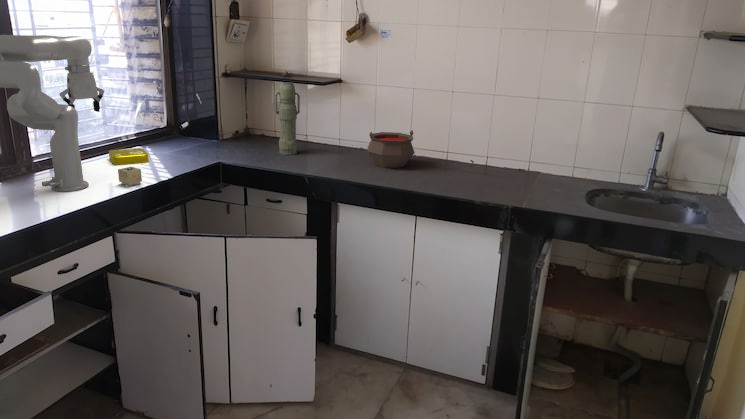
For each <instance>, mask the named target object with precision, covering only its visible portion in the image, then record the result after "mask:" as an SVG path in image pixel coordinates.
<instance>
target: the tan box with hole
mask: <svg viewBox="0 0 745 419" xmlns="http://www.w3.org/2000/svg"><path fill="white" fill-rule="evenodd" d="M127 168H132V170H129V171H128V170H127ZM117 174H118V182H119V183H121V182H122V183H125V184H132V183H137V182H140V183H141V182H142V181H143V177H142V169H141V168H138V167H135V166H128V167H124V168H123V167H122V168H118V169H117Z"/></svg>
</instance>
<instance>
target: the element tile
mask: <svg viewBox="0 0 745 419" xmlns="http://www.w3.org/2000/svg"><path fill="white" fill-rule="evenodd" d="M108 155H109V161H110V162H111V163H112V165H113V166H128V165H137V164H139V163H140V164H148V163H149V160H150V159H149V153H148V152H147V151H146V150H145V149H144V148H142V147H135V148H122V149H121V148H120V149H110V150H109V151H108Z"/></svg>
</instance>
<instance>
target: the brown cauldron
mask: <svg viewBox="0 0 745 419" xmlns="http://www.w3.org/2000/svg"><path fill="white" fill-rule="evenodd" d="M413 135H414V131H413V130H412V129H411V130H410V131H409V134H408V133H407V134H406V133H403V132H392V131H391V132H388V131H387V132H385V131H380V132H375V133H373V132H372V131H370V132H369V134H368V136H369V138H370V141H369V143H368V146H367V153H368V154H369V156H370V158H371V159H372V161H373V163H375V165H376V166H378V167H381V168H385V169H387V168H389V169H390V168H391V169H399V168H402V167H405V166H406V165H407V163H408V162H409V161H410V159H411V158H412V157H413V156H414V155H415V154H416V153H415V149H414V147H413V143H412V141H413V140H414V136H413Z"/></svg>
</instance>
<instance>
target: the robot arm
mask: <svg viewBox="0 0 745 419" xmlns="http://www.w3.org/2000/svg"><path fill="white" fill-rule="evenodd" d="M92 47H93V46H92V44H91V42H90V41H89V40H88V39H87V38H86V37H84V36H80V35H79V36H77V35H74V36H73V35H72V36H71V35H69V36H59V35H58V36H57V35H46V34H45V35H42V34H41V35H39V34H38V35H25V34H23V35H22V34H21V35H19V34H18V35H17V34H0V89H2V88H5V89H19V91H18V92H17V93H15V94H11V96H10V97H8V99H7V102H6V110H7V112H8V114H9V117H10V118H11V119H12V120H13V121H15V122H17V123H19V124H20V125H23V126H25V127H27V128H29V129H32V130H40V131H41V130H42V131H54V133H53V135H52V136H51V138H50V141H49V147H50V154H51V159H52V160H51V162H52V167H53V174H54V176H51V179H49V180H44V181H41V186H42V187H43V188H44V187H45V188H46V187H51V190H53V191H55V192H56V191H57V192H74V191H76V192H77V191H80V190H83V189H86V188H88V187H89V182H88V181H87V180H84V175H83V174H84V173H83V165H82V159H81V152H80V144H79V134H78V127H79V126H78V125H79V114H78V111H77V109H76V106H75V104H74V102H75V101H76V100H86V99H87V100H88V99H92V100H93V102H92V104H93V110H94V111H95V112H97V113H100V111H101V110H100V109H101V106H100V102H101V100H102V98H103V97H104V93H105V89H102V88H100V87H98V86H97V81H96V80H95V78H96V77H95V75H94V73H93V72H91V67H90V58H89V57H90V56H91V54H92ZM64 60H67V61H66V62H67V66H65V67H64V70H65V71H68V72H67V74H66V89H63V91H61V92H59V96H60V97H61V99H62V101H64V102H65V103H66V104H65V103H63V104H62V103H58V102H57V101H56V100H55V99H54V98H52V96H49V95H47V94H46V93H45V92H43V91H42V82H41V76H40V73H39V70H38V69H37V68H36V67H35V66H34V65H33V64H31V63H36V62H45V61H46V62H48V61H64ZM66 96H68V97H66Z"/></svg>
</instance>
